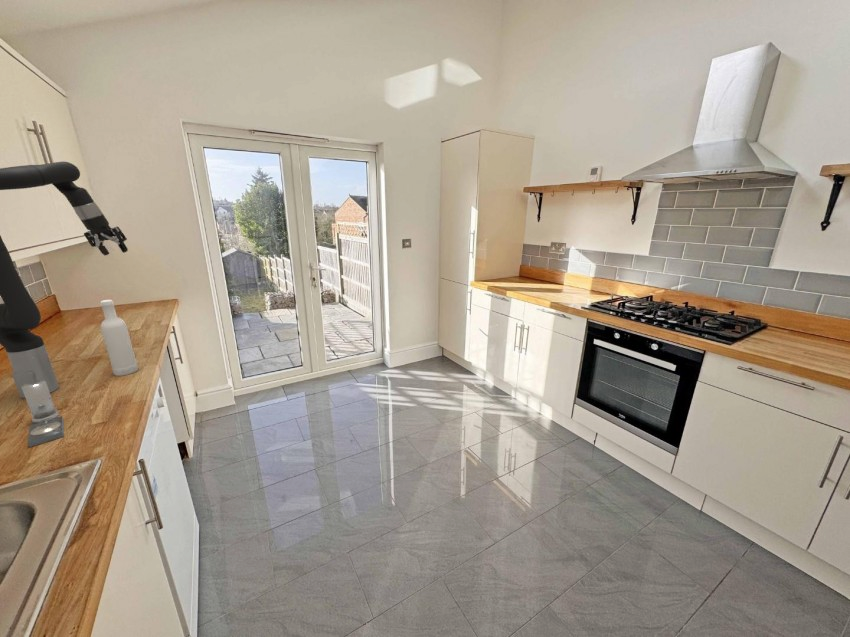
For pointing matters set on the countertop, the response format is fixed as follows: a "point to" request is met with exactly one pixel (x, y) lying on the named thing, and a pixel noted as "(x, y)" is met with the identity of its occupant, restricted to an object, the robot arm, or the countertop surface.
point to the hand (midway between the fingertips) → (116, 253)
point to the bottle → (117, 341)
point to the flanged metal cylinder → (39, 401)
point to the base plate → (46, 431)
